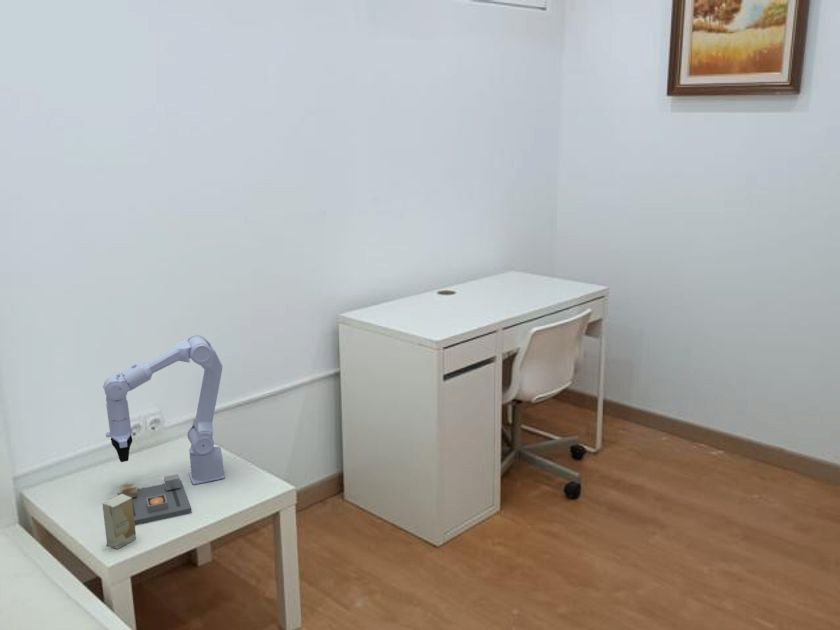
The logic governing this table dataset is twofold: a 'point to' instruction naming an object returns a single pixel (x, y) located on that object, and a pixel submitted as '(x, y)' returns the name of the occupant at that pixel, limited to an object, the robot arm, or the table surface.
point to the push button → (156, 501)
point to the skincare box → (119, 521)
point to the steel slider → (172, 482)
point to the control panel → (172, 505)
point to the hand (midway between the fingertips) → (124, 460)
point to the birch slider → (129, 490)
